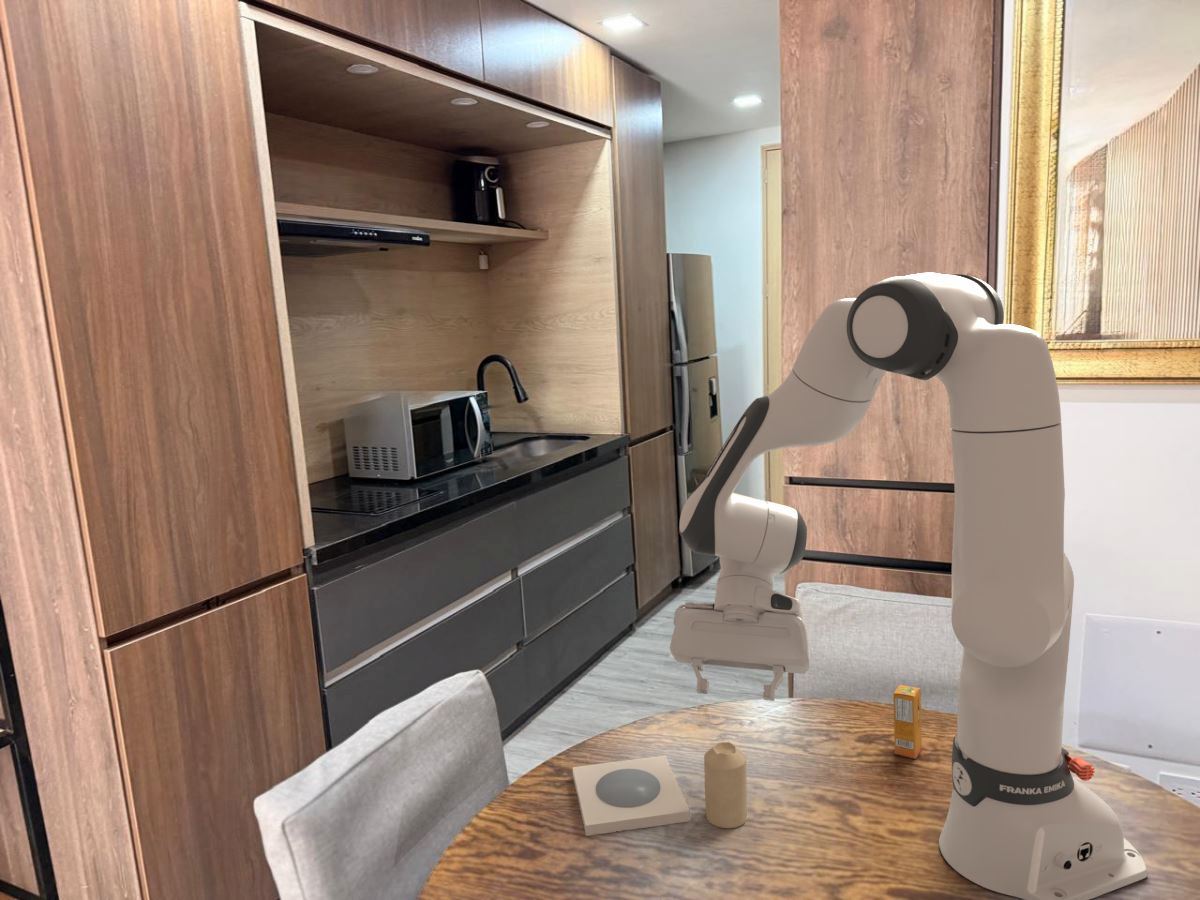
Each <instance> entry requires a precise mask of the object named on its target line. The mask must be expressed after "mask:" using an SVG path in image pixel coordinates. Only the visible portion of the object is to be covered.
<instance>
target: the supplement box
mask: <svg viewBox="0 0 1200 900" xmlns="http://www.w3.org/2000/svg"><path fill="white" fill-rule="evenodd" d="M921 693H922V692H921V688H920V687H915V686H909V685H904V684H903V685H902V684H899V685H898V686H897V688H896V689H895V691H894V692H893V693H892V694H893V695H892V696H893V697H892V699H893V729H894V730H893V733H894V734H893V735H894V754H895V755H898V756H901V757H905V758H910V759H915V760H916V759H917V757H918V756H919V754H920V753H921V751H922V744H923V743H922V742H923V741H922V696H921V695H922V694H921Z"/></svg>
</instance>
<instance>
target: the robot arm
mask: <svg viewBox="0 0 1200 900" xmlns="http://www.w3.org/2000/svg"><path fill="white" fill-rule="evenodd" d="M1004 313H1005V312H1004V307H1003V303H1002V300H1001V298H1000V297H999V294H998V293H997V291H996V290H995V289H994V288H993V287H992V286H991V285H989V284H988V283H987V282H986V281H983V280H981V279H979V278H977V277H974V276H971V275H967V274H961V273H959V274H958V273H956V274H955V273H954V274H941V273H938V272H937V273H936V272H922V273H916V274H909V275H905V276H903V275H902V276H900V275H899V276H891V277H887V278H885V279H882V280H880V281H877V282H876V283H873V284H872V285H870V286H868V287H867V288H866V289H864V290H863V291H862V292H861V293H860V294H859V295H858V296H857V297H845V298H840V299H836V300H834V301H832V302H831V303H829V304H828V305H827V306H826V307H825V308H824V309H823V311H822V312H821V313H820V314H819V316H818V318H817V319H816V321H815V322H814V324H813V325H812V327H811V329H810V331H809V333H808V334H807V336H806V338H805V340H804V342H803V344H802V345H801V348H800V350H799V352H798V354H797V356H796V359H795V362H794V364H793V366H792V367H791V370H790V372H789V374H788V375H787V377H786V378H785V380H784V381H783V382H782V383H781V384H780V385H779V386H778V387H777V388H776V389H775V390H773V391H772V392H771V393H769V394H768V395H764V396H761V397H757V398H755V399H754V400H753V401H752V402H751V403H750V405H749V406H748V407H747V408H746V409H745V411H744V412H743V413H742V415H741V417H740V418H739V419H738V421H737V423H736V424H735V426H734V427H733V429H732V430H731V432H730V433H729V435H728V437H727V438H726V440H725V442H724V444H723V446H722V447H721V449H720V451H719V452H718V454H717V455H716V457H715V458H714V460H713V462H712V464H711V465H710V467H709V469H708V470H707V471H706V474H705V475H704V477H703V478H702V479H701V481H700V482H699V483H698V485H696V487H695V488H694V489H693V491H692V492H691V493H690V496H689V497H688V498H687V500H686V502H685V503H684V505H683V507H682V510H681V513H680V517H679V524H678V525H679V527H678V532H679V533H678V534H679V535H680V536H681V538H682V540H683V542H684V543H685V544H686V545H687V547H688V548H689V550H690V551H692V553H694V554H698V555H705V556H710V557H711V556H712V557H715V556H716V557H719V565H720V574H719V576H718V577H717V580H716V584H715V585H716V587H715V596H714V603H707V602H699V603H698V602H697V603H696V602H693V601H686V602H685V604H680V605H679V606H678V607H677V608H676V609H675V611H674V616H673V625H674V628H673V632H672V636H671V639H670V644H669V645H670V646H669V652H670V654H671V656H672V658H674V660H675V661H676V662H677V663H681V664H691V667H692V669H693V672H694V673H695V676H696V678H697V680H696V681H697V683H696V692H697V694H701V695H702V694H703V695H709V689H710V681H709V679H708V678H703V676H702V674H701V673H700V672H703V671H704V668H705V666H713V667H714V666H715V667H723V668H724V667H725V668H737V669H746V670H756V671H757V670H758V671H769V672H772V673H773V679H772V681H771V682H770V684H763V693H762V698H763V700H764V701H770V702H775V698H776V690H778V688H779V687H780V685H781V684H782V682H783V681H784V680H785V673H791V674H803V675H804V674H806V673H807V672H808V671H809V669H810V668H811V651H810V642H809V641H810V640H809V634H808V629H807V626H806V623H805V621H804V610H803V605H802V603H801V602H800V600H799V599H797V598H795V597H793V596H789V595H786V594H784V593H781V592H778V591H776V590H775V584H774V579H775V576H776V575H782V574H783V573H786V572H787V571H788V570H790V569H792V568H794V567H796V565H798V564H799V563H801V561H802V560H803V559H804V556H805V552H806V547H807V539H808V538H807V537H808V536H807V535H808V528H807V525H806V521H805V520H804V518H803V516H802V514H801V513H800V512H799V511H798V509H797V508H793V507H791V506H788V505H785V504H782V503H781V504H780V503H777V502H772V501H771V500H770V501H769V500H767V499H766V500H763V499H759V498H756V497H755V498H754V497H752V496H751V497H750V496H748V495H744V494H739V493H736V492H734V491H736V488H737V487H738V486H739V484H740V482H741V480H742V479H743V477H744V476H745V474H746V472H747V471H748V470H749V468H750V466H751V465H752V463H753V462H754V461H755V460H756V459H757V458H758V457H760V456H761V455H763V454H766V453H768V452H771V451H772V452H773V451H776V450H782V449H787V448H796V447H797V448H798V447H817V446H818V447H819V446H824V445H825V446H826V445H828V444H829V445H830V444H832V443H836V442H837V441H840V440H843V439H844V438H846V437H848V436H849V435H851V434H852V433H853V432H854V431H855V430H856V429H857V428H858V427H859V425H860V424H861V422H862V421H863V419H864V418H865V416H866V414H867V412H868V410H869V408H870V406H871V403H872V401H873V399H874V396H875V395H876V392H877V390H878V388H879V386H880V384H881V381H882V379H883V377H884V375H885V374H886V373H887V372H889V373H894V374H899V375H903V376H906V377H908V378H909V377H911V378H913V379H916V380H920V381H927V380H930V379H931V378H933V377H936V378H937V379H939V380H940V381H941V382H942V384H943V386H944V387H945V389H946V392H947V396H948V397H947V398H948V403H949V418H950V419H949V420H950V423H949V424H950V434H951V435H950V437H951V453H952V470H953V483H954V484H953V485H954V511H953V513H954V514H953V525H952V526H953V527H952V548H951V549H952V551H951V602H950V603H951V604H950V605H951V606H950V617H951V618H950V619H951V627H952V630H953V633H954V635H955V637H956V639H957V641H958V642H959V644H960V645H961V647H963V649H962V650H963V651H962V657H961V665H960V670H959V674H958V689H957V690H958V691H957V693H958V694H957V718H956V719H957V723H956V724H957V725H956V734H955V736H954V737H953V740H952V753H951V754H952V755H951V780H952V792H951V798H950V804H949V807H948V808H949V809H948V812H947V816H946V819H945V823H944V825H943V828H942V830H941V833H940V836H939V839H938V845H939V850H940V852H941V854H942V856H943V858H944V860H945V861H946V862H947V863H948V864H949V865H950V866H951V867H952V868H953V869H954V871H956V872H957V873H959V874H960V875H961V876H963V877H964V878H966V879H968V881H971V882H972V883H975V884H976V885H978V886H981V887H982V888H984V889H988V890H991V891H994V892H996V893H999V894H1002V895H1007V896H1011V897H1016V898H1020V899H1023V900H1091V899H1095V898H1097V897H1100V896H1102V895H1105V894H1108V893H1110V892H1112V891H1115V890H1118V889H1120V888H1123V887H1126V886H1129V885H1131V884H1134V883H1136V882H1138V881H1141V880H1144V879H1146V878H1147V876H1148V869H1147V865H1146V863H1145V861H1144V858H1143V857H1142V856H1141V854H1140V853H1139V851H1138V850H1137V849H1136V847H1134V846H1133V845H1132V844H1131V842H1129V841H1128V840H1127V838H1125V836H1124V832H1123V828H1122V824H1121V822H1120V820H1119V817H1118V815H1116V813H1115V812H1114V810H1113V808H1111V807H1110V806H1109V805H1108V803H1107V802H1105V800H1103V799H1102V797H1100V796H1099V795H1097V794H1096V793H1094V792H1093V790H1091V789H1089V788H1088V787H1087V786H1086V785H1084V784H1082V783H1081V782H1080V781H1079V780H1077V779H1076V778H1074V777H1073V775H1072V773H1073V774H1074V775H1076V776H1077V778H1079V779H1080V780H1081V781H1084V782H1085V781H1089V780H1091V779H1092V777H1094V775H1095V774H1094V773H1095V767H1094V766H1093V765H1092V764H1090V763H1088V762H1087V761H1085V760H1084V759H1083V758H1082V757H1079V756H1075V757H1072V756H1071V755H1070V753H1069V751H1068V750H1067V749H1065V748H1064V747H1063V746H1062V745H1063V744H1062V743H1063V730H1064V729H1063V727H1064V713H1065V712H1064V710H1065V693H1066V684H1067V671H1068V663H1069V661H1068V660H1069V653H1070V652H1069V650H1070V639H1071V628H1072V627H1071V626H1072V616H1073V613H1072V612H1073V602H1074V591H1075V590H1074V589H1075V588H1074V586H1075V577H1074V571H1073V568H1072V565H1071V563H1070V561H1069V559H1068V556H1067V555H1066V553H1065V552H1064V550H1065V549H1064V546H1065V544H1064V542H1065V541H1064V540H1065V539H1064V537H1065V536H1064V535H1065V532H1064V531H1065V527H1064V526H1065V500H1066V498H1065V497H1066V491H1065V471H1064V452H1063V451H1064V450H1063V448H1064V447H1063V432H1062V431H1063V430H1062V414H1061V401H1060V394H1059V388H1058V383H1057V378H1056V373H1055V372H1056V371H1055V368H1054V367H1055V366H1054V363H1053V360H1052V357H1051V353H1050V350H1049V346H1048V344H1047V341H1046V340H1045V338H1044V337H1043V336H1042V335H1041V334H1040V333H1039V332H1037V331H1036V330H1034V329H1032V328H1029V327H1027V326H1022V325H1018V324H1011V323H1010V324H1009V323H1004V317H1005V316H1004Z"/></svg>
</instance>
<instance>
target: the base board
mask: <svg viewBox="0 0 1200 900" xmlns="http://www.w3.org/2000/svg"><path fill="white" fill-rule="evenodd" d="M572 779H573V783H574V788H575V791H576V796H577V801H578V806H579V810H580V815H581V819H582V824H584V825H583V827H584V833H585V837H589V836H595V835H596V836H597V835H603V834H608V833H609V834H610V833H617V832H616V831H618V832H623V830H625V831H631V830H638V828H639V829H644V828H652V827H660V826H666V825H672V824H680V823H681V824H682V823H688V822H691V811H690V808H689V806H688V804H687V801H686V799H685V797H684V795H683V793H682V790H681V788H680V786H679V783H678V782H677V779H676V776H675V774H674V772H673V769H672V767H671V765H670V762H669V761H668V758H667V756H666V754H664V755H658V756H650V757H648V756H647V757H643V758H634V759H627V760H618V761H610V762H604V763H603V762H602V763H594V764H589V765H579V766H573V767H572Z"/></svg>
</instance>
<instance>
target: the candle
mask: <svg viewBox="0 0 1200 900" xmlns="http://www.w3.org/2000/svg"><path fill="white" fill-rule="evenodd" d="M746 756H747V755H746V754H745V753H744V752H743V751H742V750H741V749H740V748H738V747H736V745H734V744H733V743H732V742H729V741H726V742H725V741H724V742H723V741H721V742H718V743H717V744H715V745H714V746H712V747H711V748H710V749H708V750H707V751H706V752H705V753H704V756H703V757H704V758H703V761H704V762H703V763H704V764H703V766H704V768H703V769H704V799H705V800H704V802H705V803H704V804H705V807H704V808H705V816H706V819H707V821H708V822H709V823H710V824H711V825H712V826H715V827H717V828H721V829H736V828H739V827H741V826H742V825H744V824H745V823H746V821H747V818H748V790H747V788H748V786H747V785H748V781H747V757H746Z"/></svg>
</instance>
